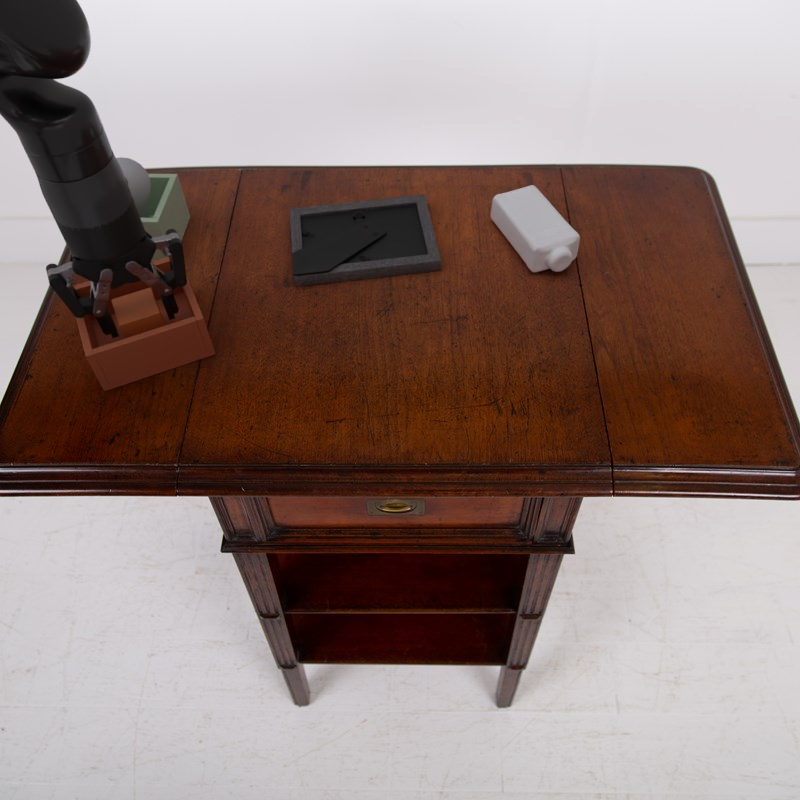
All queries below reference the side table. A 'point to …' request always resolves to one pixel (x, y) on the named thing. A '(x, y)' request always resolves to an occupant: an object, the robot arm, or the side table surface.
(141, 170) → the lightbulb
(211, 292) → the side table surface
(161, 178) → the sage bin
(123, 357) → the terracotta bin
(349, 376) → the side table surface
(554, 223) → the white bottle
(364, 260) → the picture frame
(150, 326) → the block
